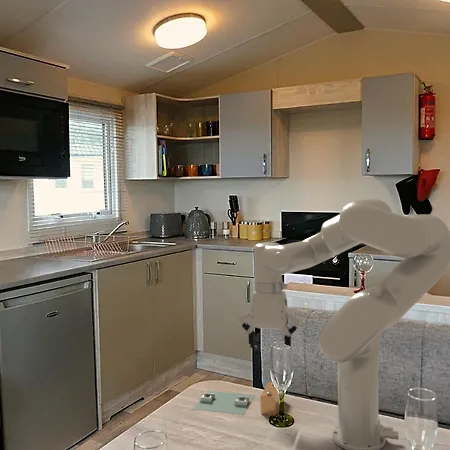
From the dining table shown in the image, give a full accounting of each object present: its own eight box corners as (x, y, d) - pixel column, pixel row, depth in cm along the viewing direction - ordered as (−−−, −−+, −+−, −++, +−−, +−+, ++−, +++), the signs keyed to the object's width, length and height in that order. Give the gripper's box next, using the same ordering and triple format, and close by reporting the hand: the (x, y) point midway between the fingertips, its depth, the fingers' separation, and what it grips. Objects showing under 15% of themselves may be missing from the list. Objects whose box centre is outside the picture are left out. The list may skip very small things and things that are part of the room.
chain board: (255, 397, 148) (255, 395, 148) (243, 417, 135) (243, 414, 135) (207, 393, 152) (207, 390, 152) (192, 411, 140) (192, 408, 140)
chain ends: (249, 401, 143) (249, 396, 143) (246, 406, 140) (246, 402, 140) (204, 397, 148) (203, 392, 147) (199, 401, 144) (199, 397, 144)
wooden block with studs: (282, 403, 144) (281, 381, 143) (275, 418, 134) (274, 395, 134) (269, 401, 145) (268, 379, 144) (261, 417, 135) (260, 393, 135)
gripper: (301, 285, 138) (302, 345, 139) (242, 283, 143) (243, 341, 145) (297, 291, 131) (298, 354, 132) (234, 289, 136) (236, 349, 137)
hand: (269, 347), depth 138 cm, fingers open, 9 cm apart
